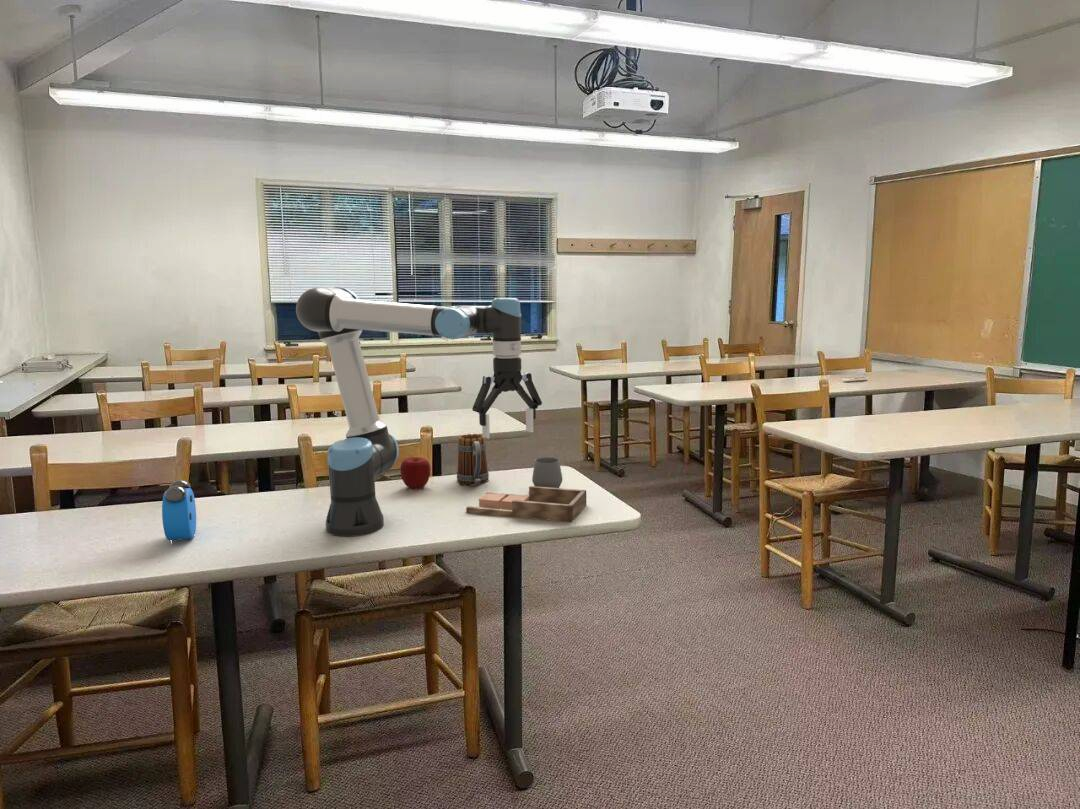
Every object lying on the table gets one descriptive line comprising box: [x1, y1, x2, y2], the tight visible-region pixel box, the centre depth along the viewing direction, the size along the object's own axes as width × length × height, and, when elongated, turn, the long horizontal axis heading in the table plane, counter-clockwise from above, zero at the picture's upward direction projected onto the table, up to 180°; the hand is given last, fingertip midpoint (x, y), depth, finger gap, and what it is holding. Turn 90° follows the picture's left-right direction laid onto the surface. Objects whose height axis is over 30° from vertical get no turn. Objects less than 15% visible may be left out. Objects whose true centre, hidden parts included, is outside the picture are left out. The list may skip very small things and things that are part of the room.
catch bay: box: [465, 485, 587, 523], centre depth 204 cm, size 31×15×4 cm, turn 72°
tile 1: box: [478, 492, 506, 509], centre depth 208 cm, size 6×6×3 cm
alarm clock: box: [161, 479, 197, 542], centre depth 184 cm, size 13×6×15 cm, turn 18°
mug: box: [456, 433, 490, 486], centre depth 231 cm, size 16×11×15 cm
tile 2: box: [501, 495, 529, 510], centre depth 206 cm, size 6×6×3 cm
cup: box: [531, 456, 563, 488], centre depth 221 cm, size 10×9×10 cm
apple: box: [399, 456, 431, 490], centre depth 227 cm, size 10×10×10 cm
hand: (508, 434), depth 194 cm, fingers open, 13 cm apart
